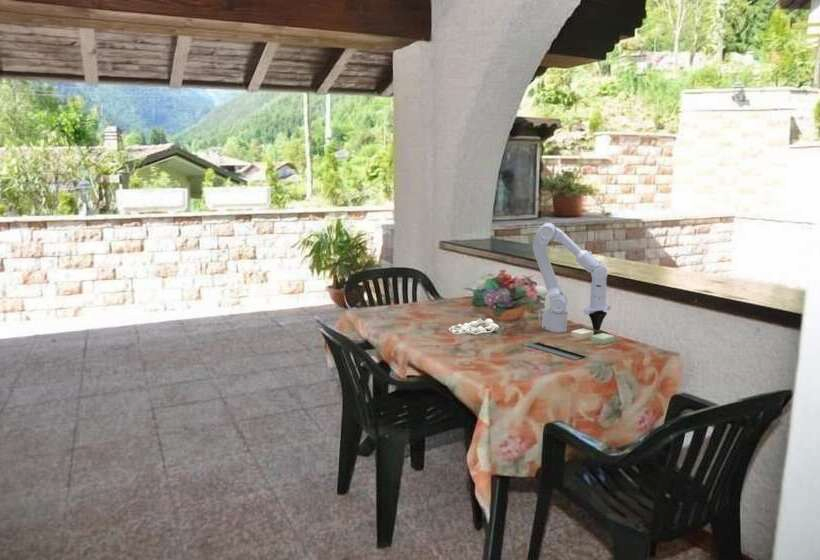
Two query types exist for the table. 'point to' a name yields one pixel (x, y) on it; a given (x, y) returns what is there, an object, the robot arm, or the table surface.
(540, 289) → the lollipop
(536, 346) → the mat
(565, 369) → the table surface
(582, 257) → the robot arm
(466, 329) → the tangled rod sculpture
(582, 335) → the tile cream
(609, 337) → the tile sage
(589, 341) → the board
